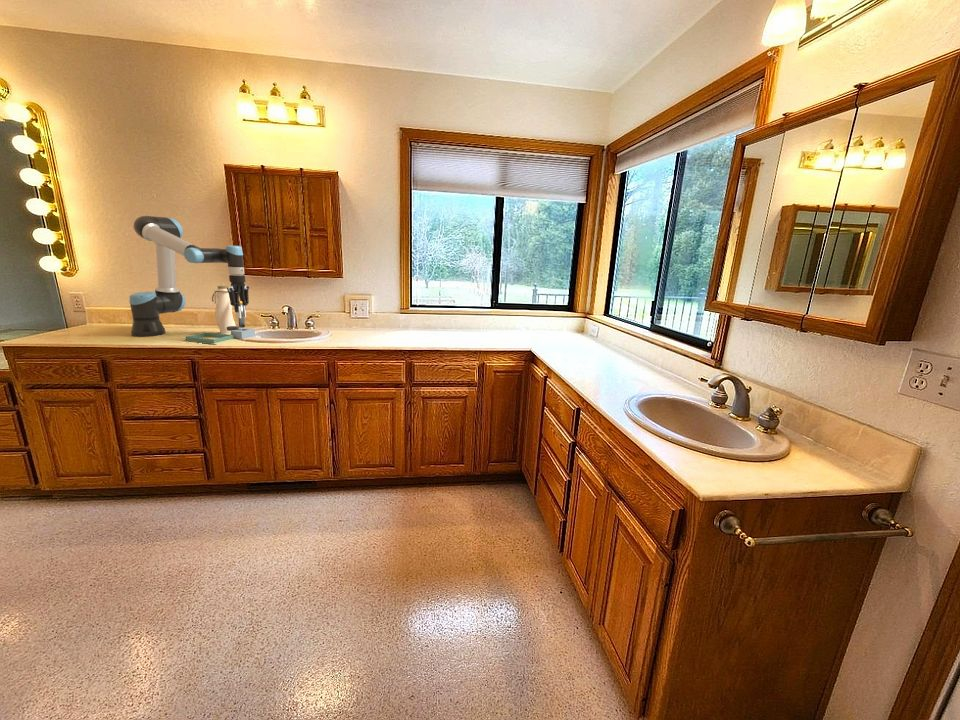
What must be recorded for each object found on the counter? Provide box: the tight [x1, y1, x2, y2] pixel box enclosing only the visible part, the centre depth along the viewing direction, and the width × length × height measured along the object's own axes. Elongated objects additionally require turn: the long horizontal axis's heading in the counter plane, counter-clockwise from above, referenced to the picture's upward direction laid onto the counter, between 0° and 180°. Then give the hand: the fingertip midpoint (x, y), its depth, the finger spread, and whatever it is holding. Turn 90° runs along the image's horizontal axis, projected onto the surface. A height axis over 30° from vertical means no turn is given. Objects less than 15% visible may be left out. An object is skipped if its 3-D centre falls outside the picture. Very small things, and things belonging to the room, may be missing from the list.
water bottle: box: [211, 285, 237, 335], centre depth 236 cm, size 10×9×28 cm
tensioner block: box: [227, 325, 256, 340], centre depth 231 cm, size 14×10×6 cm
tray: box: [184, 331, 235, 346], centre depth 221 cm, size 18×13×3 cm
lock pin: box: [237, 300, 246, 329], centre depth 227 cm, size 3×3×14 cm
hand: (241, 317), depth 228 cm, fingers closed on lock pin, 3 cm apart
